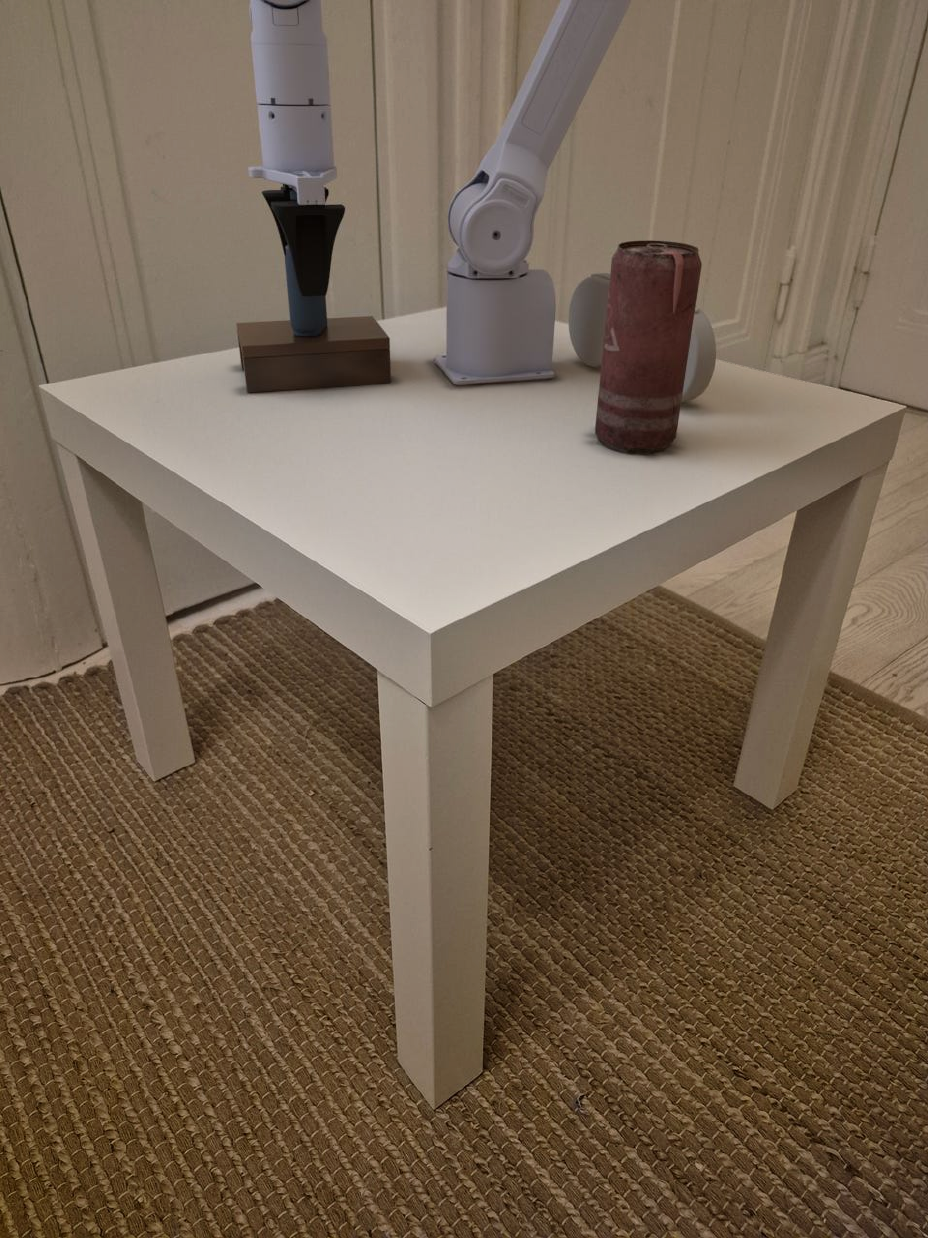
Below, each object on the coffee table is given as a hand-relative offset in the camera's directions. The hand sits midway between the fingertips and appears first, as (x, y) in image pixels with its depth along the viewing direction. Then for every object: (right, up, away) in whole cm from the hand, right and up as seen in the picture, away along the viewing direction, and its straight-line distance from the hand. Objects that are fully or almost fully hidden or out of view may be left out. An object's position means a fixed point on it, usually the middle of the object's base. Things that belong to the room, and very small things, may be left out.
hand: (307, 285), depth 77 cm
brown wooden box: (0, -7, +4) cm, 8 cm away
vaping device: (0, -3, +2) cm, 4 cm away
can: (+27, -16, -9) cm, 32 cm away
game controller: (+29, -8, +4) cm, 30 cm away
